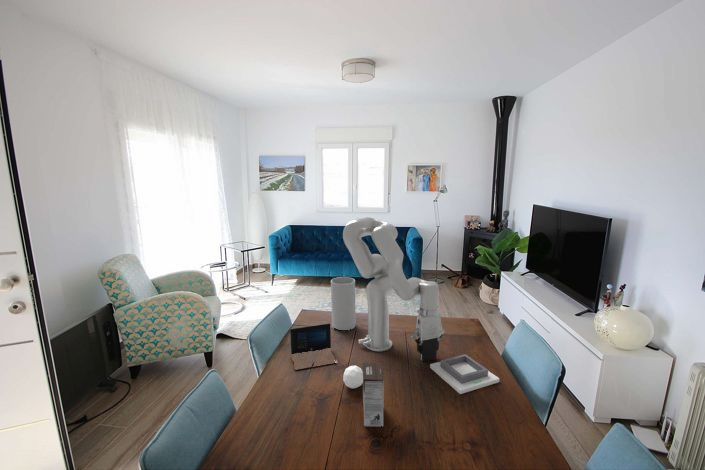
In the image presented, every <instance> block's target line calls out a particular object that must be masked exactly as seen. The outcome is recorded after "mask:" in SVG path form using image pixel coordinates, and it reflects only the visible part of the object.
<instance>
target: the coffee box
mask: <svg viewBox="0 0 705 470" xmlns="http://www.w3.org/2000/svg"><path fill="white" fill-rule="evenodd" d="M362 371H363V383H362V386H363V387H362V403H363V405H362V407H363V426H364V427H381V426H382V427H384V426H385V425H384V424H385V420H384V415H385V413H384V412H385V377H384V369H383V363H382V362H380V363H379V362H378V363H377V362H364V363H362Z"/></svg>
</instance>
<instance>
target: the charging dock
mask: <svg viewBox="0 0 705 470" xmlns="http://www.w3.org/2000/svg"><path fill="white" fill-rule="evenodd" d="M429 368H430V369H431V370H432V371H433V372H434V373H436V375H438V376H439V377H440V378H441V379H442V380H443V381H444V382H446V384H448V385H449V386H450V387H452V389H454V390H455V391H456V392H457V393H458V394H459V395H462V394H463V395H464V394H465V393H469V392H472V391H474V390H478V389H483V388H484V387H488V386H492V385H494V384H499V383H500V378H499V377H498V376H497V375H495V374H493V372H490V370H489V369H487V368H486V367H485V366H484V365H482V364H481V363H479V362H477V361H476V360H475V359H473V358H472V357H470V356H469V355H467V354H465V353H464V354H461V355H456V356H453V357H449V358H445V359H441V360H440V361H437V362H434V363H430V364H429Z"/></svg>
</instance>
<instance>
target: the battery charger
mask: <svg viewBox="0 0 705 470" xmlns="http://www.w3.org/2000/svg"><path fill="white" fill-rule="evenodd" d="M420 340H421V339H420ZM422 345H423V354H420V358H419V359H420V360H421V362H429V361H430V362H431V361H437V360H438V358H437V356H438V355H437V354H438V350H437V338H433V339H429V340H424V341H423V343H422Z"/></svg>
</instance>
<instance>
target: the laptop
mask: <svg viewBox="0 0 705 470" xmlns="http://www.w3.org/2000/svg"><path fill="white" fill-rule="evenodd" d="M331 328H332V326H331V322H329V323H328V322H327V323H322V324H321V323H320V324H313V325H307V326H301V327H300V326H299V327H294V328H293V327H292V328H289V338H290V339H289V340H290V355H291V354H297V353H301V354H302V352H307V353H308V351H313V352H314V351H316V350H319V351H320V350H323V349H328V348H331V349H332V337H331V336H332V335H331V334H332V333H331ZM334 361H335V360H334ZM335 363H336V364H338V360H337V359H336V361H335Z"/></svg>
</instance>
